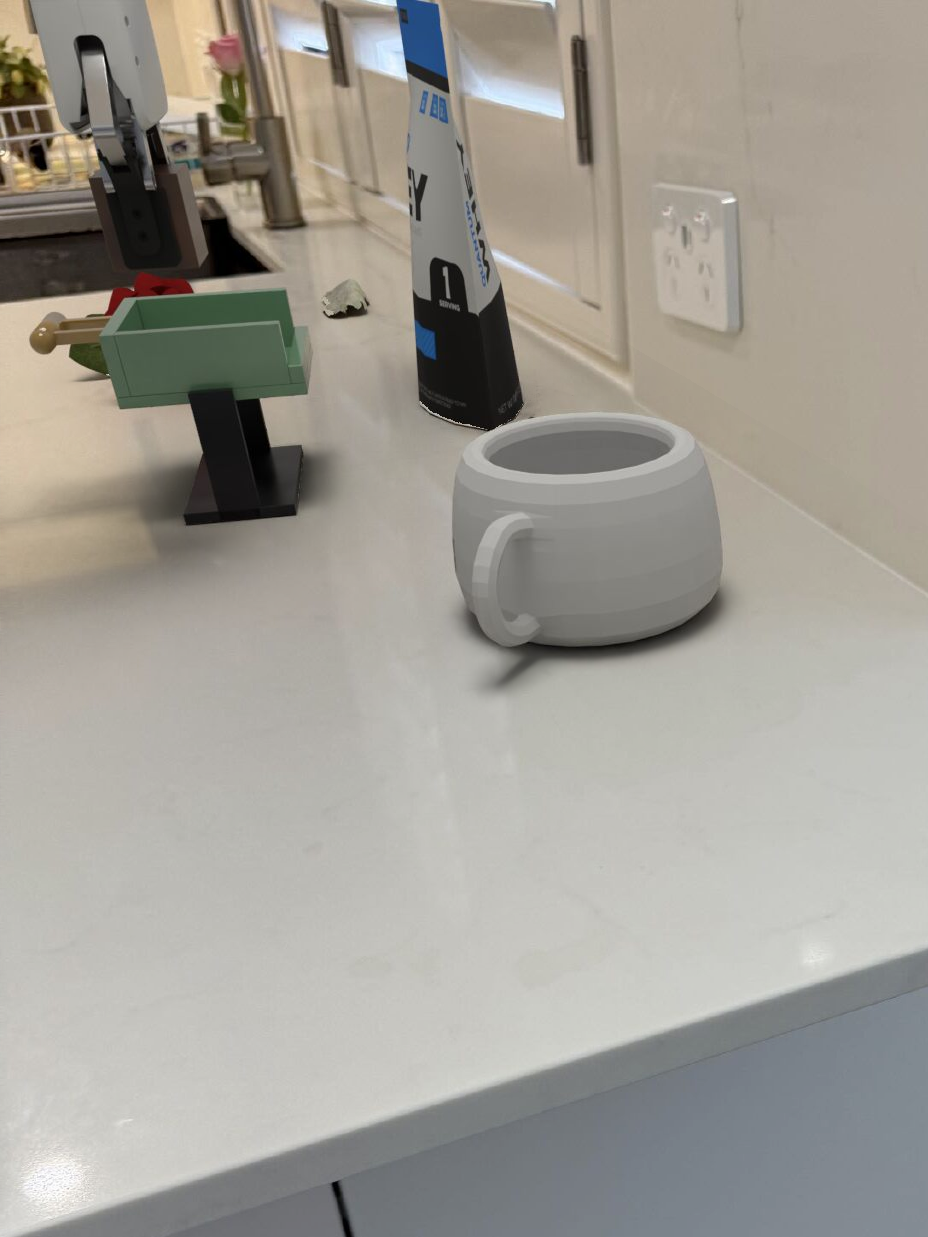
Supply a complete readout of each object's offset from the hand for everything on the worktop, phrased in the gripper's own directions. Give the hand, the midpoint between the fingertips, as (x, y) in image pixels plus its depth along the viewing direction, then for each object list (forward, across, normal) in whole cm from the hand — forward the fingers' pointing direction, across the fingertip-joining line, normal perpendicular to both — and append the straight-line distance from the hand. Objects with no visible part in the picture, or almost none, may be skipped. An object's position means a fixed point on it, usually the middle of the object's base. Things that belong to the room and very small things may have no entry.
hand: (159, 255), depth 84 cm
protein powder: (+19, -36, +18) cm, 44 cm away
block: (0, 0, 0) cm, 0 cm away
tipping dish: (+11, -14, -3) cm, 18 cm away
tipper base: (+19, -14, 0) cm, 23 cm away
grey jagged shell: (+19, -80, +5) cm, 83 cm away
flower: (+19, -57, -13) cm, 61 cm away
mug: (+19, +18, +22) cm, 34 cm away
